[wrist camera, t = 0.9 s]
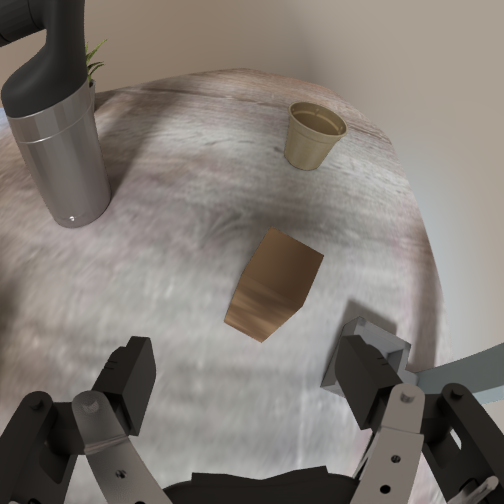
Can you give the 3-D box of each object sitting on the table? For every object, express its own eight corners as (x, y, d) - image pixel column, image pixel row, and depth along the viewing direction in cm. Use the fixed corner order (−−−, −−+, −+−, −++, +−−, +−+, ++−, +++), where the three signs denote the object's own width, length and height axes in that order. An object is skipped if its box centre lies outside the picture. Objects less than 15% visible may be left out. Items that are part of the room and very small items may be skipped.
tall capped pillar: (320, 387, 27) (526, 322, 7) (344, 325, 31) (506, 204, 11) (422, 426, 25) (583, 390, 6) (437, 372, 30) (580, 309, 10)
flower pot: (268, 138, 45) (281, 96, 38) (317, 142, 48) (334, 105, 40) (281, 177, 41) (299, 132, 33) (335, 179, 43) (358, 140, 36)
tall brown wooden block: (223, 321, 29) (242, 273, 18) (243, 288, 31) (270, 226, 21) (261, 342, 28) (302, 306, 18) (279, 307, 31) (324, 255, 20)
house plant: (31, 139, 36) (10, 67, 22) (63, 99, 43) (53, 36, 29) (92, 136, 39) (78, 51, 25) (119, 96, 45) (116, 25, 32)
